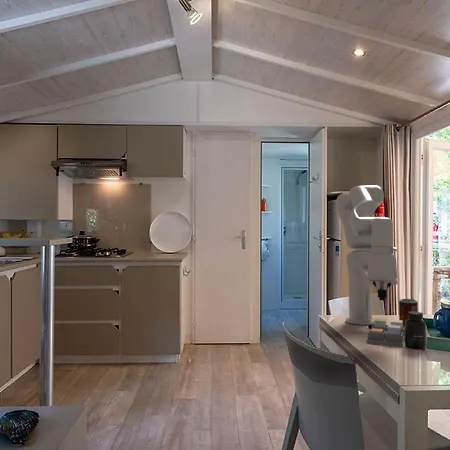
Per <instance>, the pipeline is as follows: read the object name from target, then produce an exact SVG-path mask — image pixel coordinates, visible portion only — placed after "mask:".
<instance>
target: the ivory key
mask: <svg viewBox="0 0 450 450" xmlns="http://www.w3.org/2000/svg"><path fill="white" fill-rule="evenodd" d="M390 325H396V326H401V329H402V328H403V321H402V320H399V319H391V320H390Z"/></svg>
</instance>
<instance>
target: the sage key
mask: <svg viewBox="0 0 450 450" xmlns="http://www.w3.org/2000/svg"><path fill="white" fill-rule="evenodd" d="M374 319H375V320H374V327H382V328H385V327H386V325H387V318H386V319H385V318H374Z"/></svg>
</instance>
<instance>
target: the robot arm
mask: <svg viewBox="0 0 450 450" xmlns="http://www.w3.org/2000/svg"><path fill="white" fill-rule="evenodd" d="M384 198H385V193H384V190H383V189H382V187H381V186H379V185H356V186H354V187H351V188H350V190H349V192H344V193H340V194H339V195H338V196H337V198H336V211H337V214H338V216H339V219H340V220H341V223H342V225H343V230H344V236H345V237H344V238H345V240H346V241H345V242H346V244H347V245H346V246H347V248H348V249H349V250H351V251H349V252H348V253H347V254H346V257H345V258H346V259H345V261H346V266H347V267H346V268H347V274H348V314H349V317H346V318H345V322H346V323H347V324H351V325H357V326H358V325H359V326H368V325H373V324H374V320H375V318H373V315H372V314H373V313H372V311H373V310H372V307H373V306H372V300H373V299H372V285H373V286H374V287H375V288H376V290H377V298H378V299H379V301H385V300H386V299H387V296H388V294H387V293H388V291H387V290H388V288H390V287H391V286H396V285H398V280H397V279H398V266H397V257H396V254H394V253H395V252H396V253H397V251H398V249H397V248H398V247H394V245H393V235H394V234H393V224H394V223H393V220H392V218H389V217H383V216H377V217H375V216H372V215H374V213H375V212H376V210H377V208H378V207H379V206H381V204H383V202H384V200H385V199H384ZM366 273H367V274H366ZM381 282H383V287H382V284H381Z"/></svg>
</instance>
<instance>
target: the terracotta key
mask: <svg viewBox="0 0 450 450" xmlns="http://www.w3.org/2000/svg"><path fill="white" fill-rule="evenodd" d="M371 333H381V334H383V329H375V328H372V327H371Z"/></svg>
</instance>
